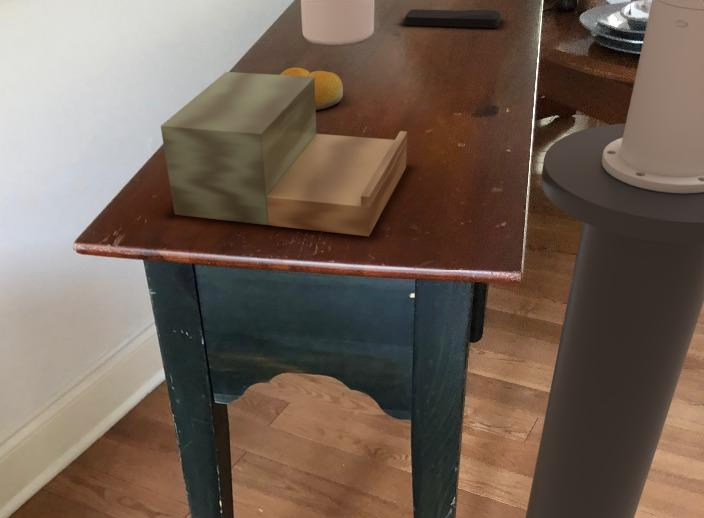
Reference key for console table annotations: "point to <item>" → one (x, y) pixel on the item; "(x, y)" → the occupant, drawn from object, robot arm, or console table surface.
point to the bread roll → (321, 86)
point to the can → (337, 21)
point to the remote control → (453, 18)
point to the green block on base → (275, 159)
